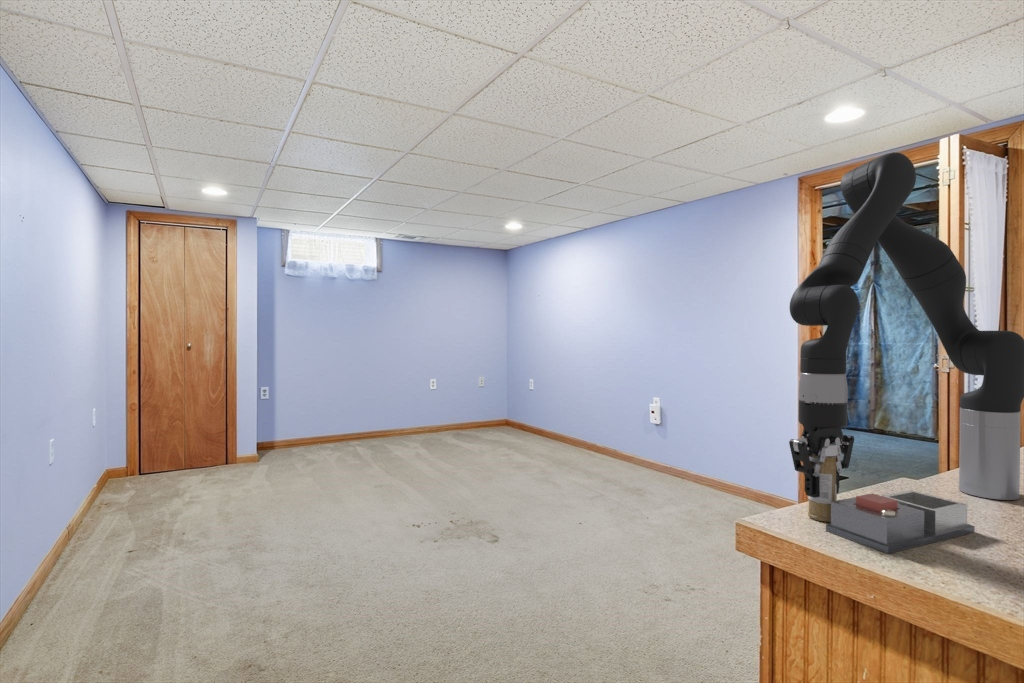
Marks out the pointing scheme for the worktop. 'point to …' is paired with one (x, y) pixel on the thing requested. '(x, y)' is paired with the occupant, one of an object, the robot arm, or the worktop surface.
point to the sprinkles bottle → (825, 487)
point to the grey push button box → (900, 521)
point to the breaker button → (876, 502)
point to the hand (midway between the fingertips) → (821, 494)
